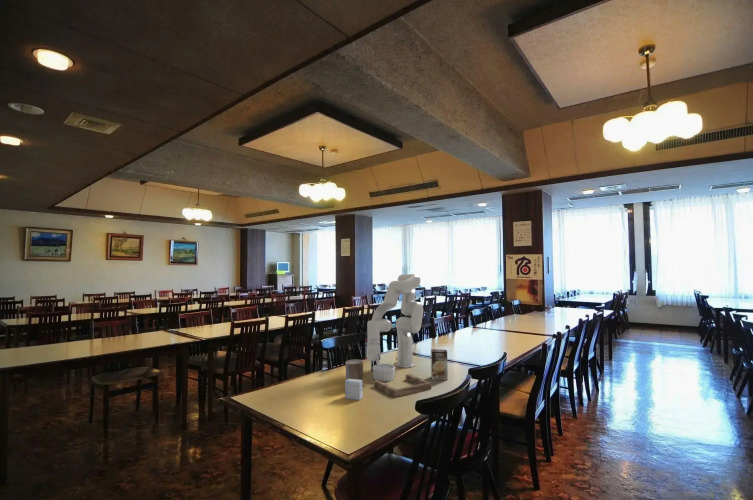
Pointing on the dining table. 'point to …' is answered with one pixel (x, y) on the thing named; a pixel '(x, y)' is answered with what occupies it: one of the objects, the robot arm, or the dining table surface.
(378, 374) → the ramekin
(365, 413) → the dining table surface
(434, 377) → the coffee box
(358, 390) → the medicine box
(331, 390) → the dining table surface
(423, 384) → the display stand
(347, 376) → the pillar candle
